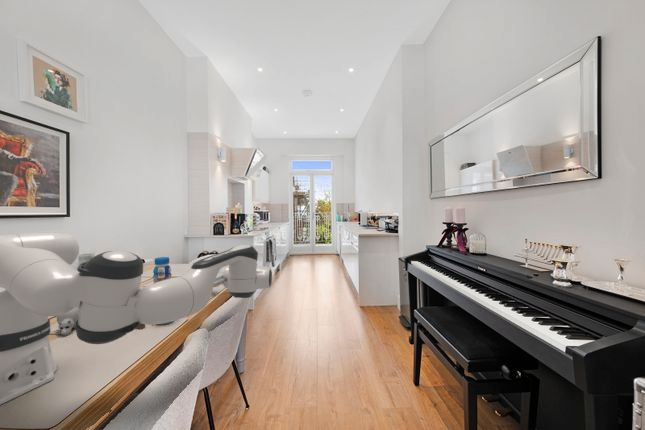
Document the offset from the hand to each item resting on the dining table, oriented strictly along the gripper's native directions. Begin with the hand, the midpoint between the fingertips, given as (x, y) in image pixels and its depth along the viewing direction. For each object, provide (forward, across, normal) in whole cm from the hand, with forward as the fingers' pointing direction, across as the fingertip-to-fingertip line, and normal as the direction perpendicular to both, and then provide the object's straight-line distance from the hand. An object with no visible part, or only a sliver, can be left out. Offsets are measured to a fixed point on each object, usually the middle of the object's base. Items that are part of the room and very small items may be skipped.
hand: (198, 276), depth 110 cm
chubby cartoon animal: (+46, -12, -19) cm, 51 cm away
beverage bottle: (+40, +31, -19) cm, 54 cm away
